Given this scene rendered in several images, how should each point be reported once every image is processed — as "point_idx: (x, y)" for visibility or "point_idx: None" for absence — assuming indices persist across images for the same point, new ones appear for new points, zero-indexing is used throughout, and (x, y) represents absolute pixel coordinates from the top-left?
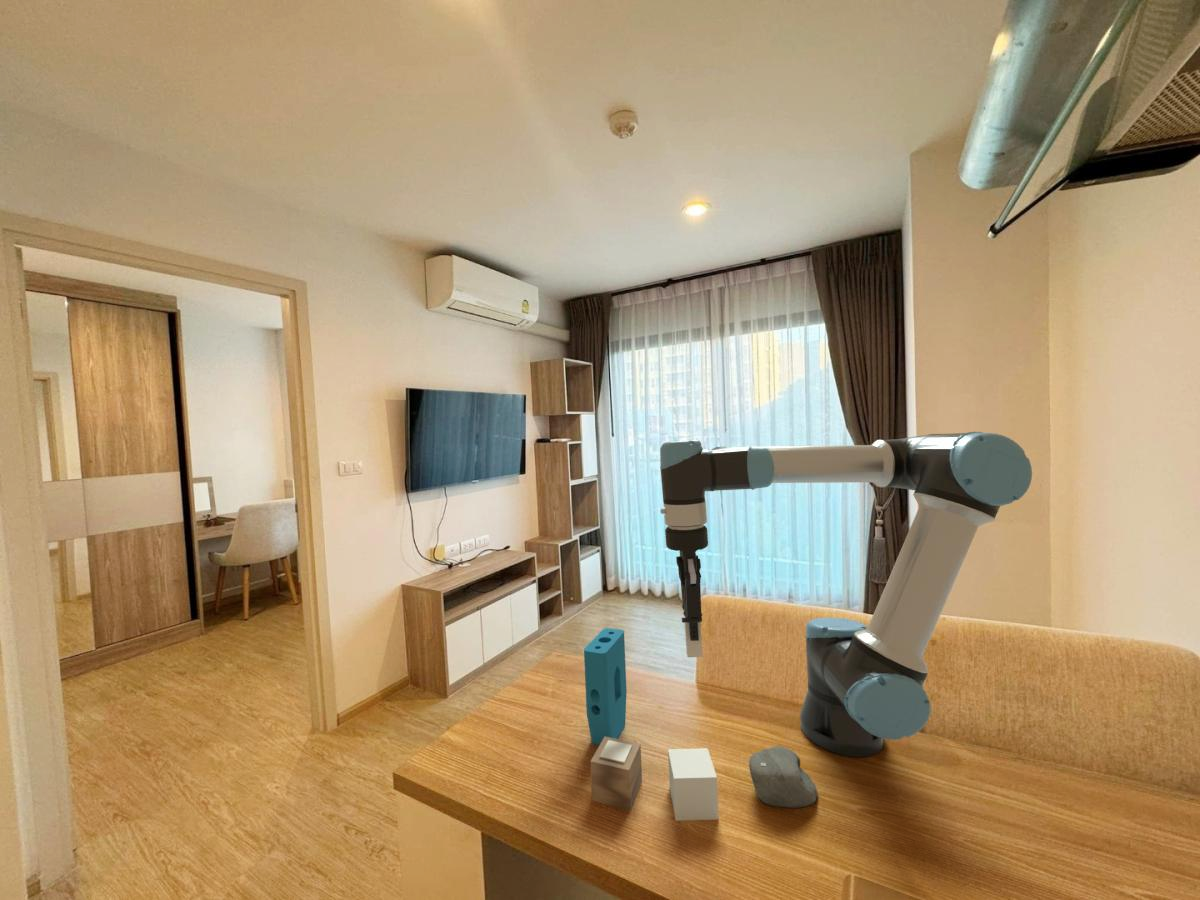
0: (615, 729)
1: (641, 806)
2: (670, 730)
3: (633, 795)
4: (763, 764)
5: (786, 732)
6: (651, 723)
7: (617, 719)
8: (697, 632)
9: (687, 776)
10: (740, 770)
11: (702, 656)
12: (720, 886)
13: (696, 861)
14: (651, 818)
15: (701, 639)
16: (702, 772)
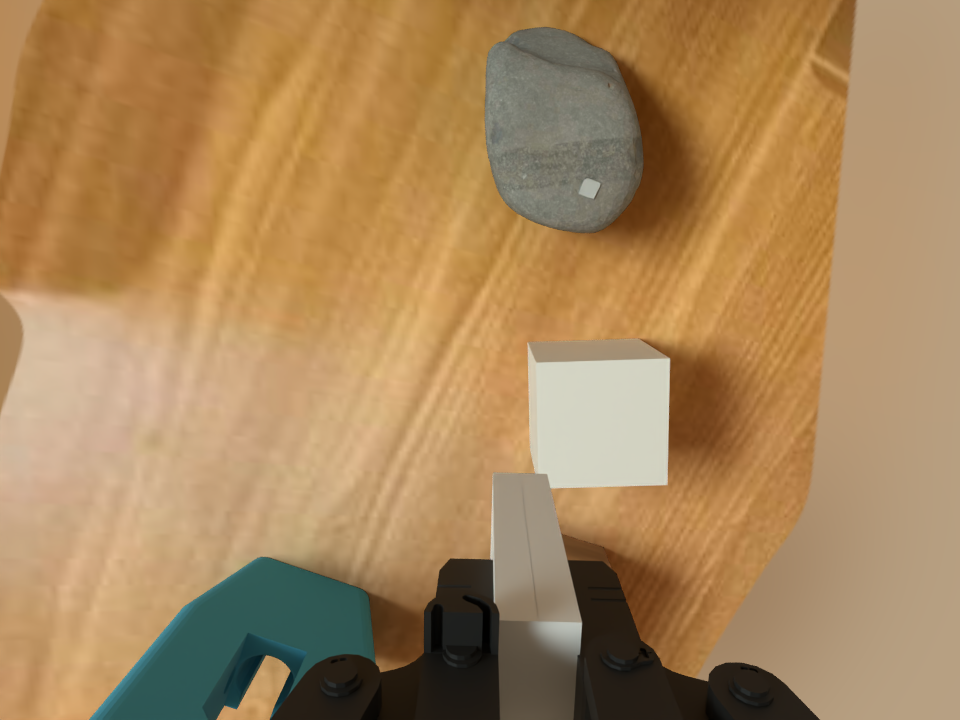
0: (336, 605)
1: (590, 521)
2: (282, 419)
3: (582, 549)
4: (591, 188)
5: (275, 21)
6: (248, 476)
7: (311, 610)
8: (623, 607)
9: (660, 444)
10: (464, 236)
11: (546, 476)
12: (812, 371)
13: (750, 411)
14: (628, 500)
15: (558, 529)
16: (647, 398)
